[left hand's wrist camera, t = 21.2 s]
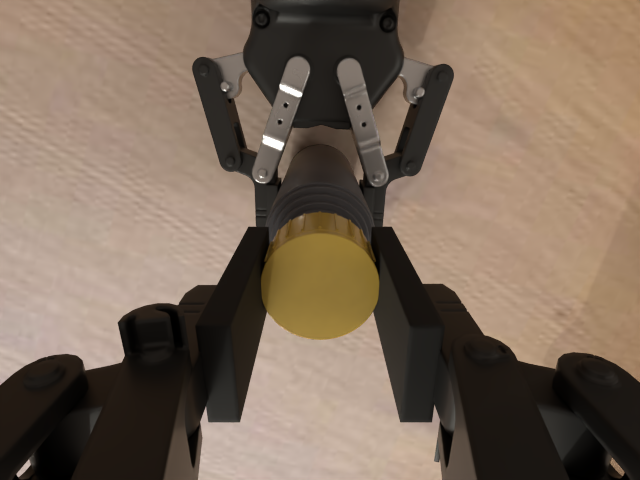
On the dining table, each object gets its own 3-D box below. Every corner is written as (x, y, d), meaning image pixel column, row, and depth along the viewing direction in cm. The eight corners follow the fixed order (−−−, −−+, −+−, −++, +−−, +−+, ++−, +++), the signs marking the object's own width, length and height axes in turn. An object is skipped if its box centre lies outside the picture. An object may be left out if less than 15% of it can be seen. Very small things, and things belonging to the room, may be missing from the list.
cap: (375, 210, 14) (385, 231, 12) (370, 306, 15) (378, 341, 13) (264, 210, 14) (254, 231, 12) (270, 307, 15) (261, 341, 13)
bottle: (274, 173, 29) (217, 272, 13) (323, 130, 28) (329, 179, 12) (316, 220, 30) (312, 363, 14) (365, 181, 29) (421, 287, 13)
